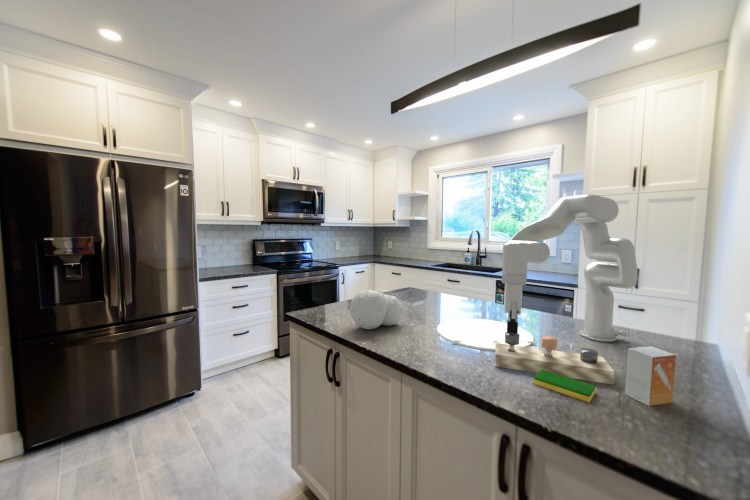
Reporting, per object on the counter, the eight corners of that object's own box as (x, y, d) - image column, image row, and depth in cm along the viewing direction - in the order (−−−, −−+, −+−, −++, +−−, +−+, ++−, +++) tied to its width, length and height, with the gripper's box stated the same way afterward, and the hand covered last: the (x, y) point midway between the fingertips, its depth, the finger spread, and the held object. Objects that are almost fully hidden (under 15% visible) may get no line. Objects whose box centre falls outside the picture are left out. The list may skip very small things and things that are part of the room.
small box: (649, 407, 78) (652, 357, 77) (624, 394, 84) (626, 347, 83) (673, 403, 80) (677, 354, 79) (647, 390, 86) (649, 345, 85)
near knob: (594, 370, 97) (595, 349, 97) (598, 376, 93) (599, 354, 93) (578, 368, 99) (579, 347, 98) (581, 373, 95) (582, 352, 94)
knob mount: (601, 368, 99) (602, 356, 99) (613, 384, 89) (614, 371, 89) (495, 353, 111) (495, 343, 111) (495, 366, 101) (495, 354, 101)
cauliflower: (416, 309, 144) (391, 270, 144) (386, 341, 127) (357, 297, 126) (389, 319, 159) (366, 283, 159) (358, 349, 141) (332, 309, 141)
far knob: (518, 352, 105) (518, 332, 105) (519, 357, 101) (519, 336, 101) (504, 350, 107) (504, 331, 106) (504, 354, 103) (505, 335, 102)
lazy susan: (554, 353, 112) (555, 344, 112) (447, 352, 113) (448, 343, 113) (509, 321, 152) (509, 314, 152) (430, 320, 153) (430, 313, 153)
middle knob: (554, 357, 101) (555, 336, 101) (557, 362, 97) (558, 341, 97) (539, 355, 103) (540, 335, 102) (541, 360, 99) (542, 339, 98)
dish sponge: (541, 376, 95) (541, 369, 95) (595, 394, 85) (595, 385, 85) (532, 384, 90) (533, 376, 90) (589, 404, 80) (589, 395, 80)
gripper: (501, 275, 111) (499, 325, 112) (502, 281, 97) (500, 338, 98) (524, 276, 108) (522, 327, 109) (528, 283, 94) (526, 341, 95)
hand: (512, 332), depth 103 cm, fingers closed
